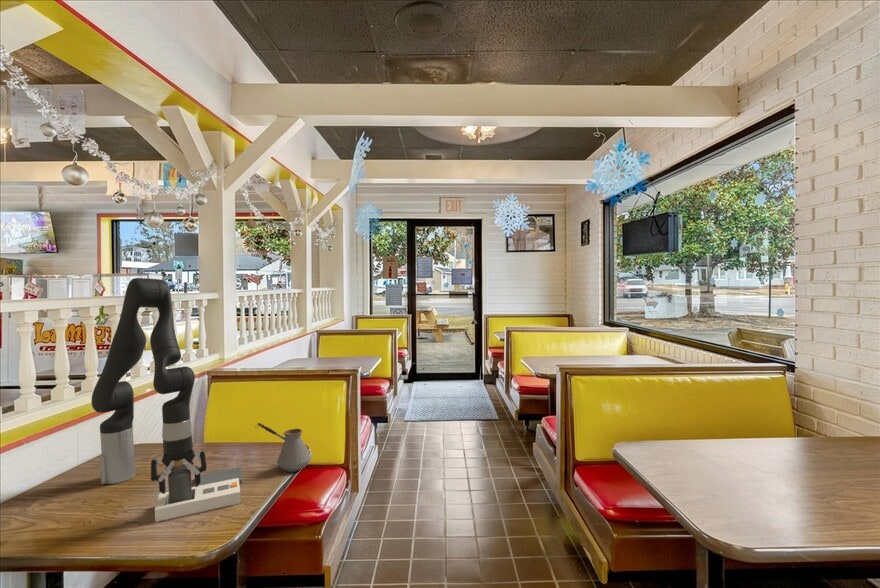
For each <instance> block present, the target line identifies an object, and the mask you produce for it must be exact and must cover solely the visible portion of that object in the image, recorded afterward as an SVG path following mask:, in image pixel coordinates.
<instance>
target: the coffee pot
mask: <svg viewBox="0 0 880 588" xmlns="http://www.w3.org/2000/svg"><path fill="white" fill-rule="evenodd" d="M259 427H261V428H262V429H264V430H265V431H267V432H268V433H270V434H273V435H275V436H277V437H278V438H280V439H281V440H284V442H283V445H282V447H281V450H280V453H279V456H278V459H277V460H276V461H277V462H276V463H277V466H278V467H279V468H280V469H282V470H283V471H285V472H289V473H291V472H297V471H301V470H304V469H305V468H306V466H307V465H308V464H309V463H310V462H311V459H312V457H311V453H310V452H309V449H308V448H307V446H306V444H305V442H304V440H303V439H302V433H303V430H302V429H301V428H291V429H288V430H287V429H286V430H285V431H284V432H283V435H284V436H283V435H281V434H279V433H278V432H276V431H275V430H273V429H272V428H270V427H268V426H265V425H264V424H262V423H261V422H257V423H256V425H255V428H256V429H258V428H259Z"/></svg>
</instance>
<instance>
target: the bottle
mask: <svg viewBox="0 0 880 588" xmlns="http://www.w3.org/2000/svg"><path fill="white" fill-rule="evenodd" d="M170 462H171V461H170ZM182 462H183V460H181V459H180V460H176V461H174V462H173V463H174V466H173V467H172V468H171V470H170V471H169V473H168V474H167V475H168V476H167V479H168V481H167V483H168V492H169V502H170V504H173V503H177V502H182V501H187V500H192V487H193V486H192V473H191V472H192V471H191V470H190V469H189V468H188V467H186V466H185V465H184V464H183V463H182Z"/></svg>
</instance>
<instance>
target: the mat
mask: <svg viewBox="0 0 880 588" xmlns="http://www.w3.org/2000/svg"><path fill="white" fill-rule="evenodd" d="M235 478H239V485H241V484H240V483H242V484H243V476H242V468H241V466H239V467H233V468H228V469H223V470H217V471H212V472H207V473H206V472H205V473H203V474H202V473H200V479H201V482H200V484H199V485H198V486H200V485H205V484H210V483H215V482H220V481H225V480H230V479H235ZM193 487H195V485H193Z"/></svg>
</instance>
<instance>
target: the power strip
mask: <svg viewBox="0 0 880 588" xmlns="http://www.w3.org/2000/svg"><path fill="white" fill-rule="evenodd" d="M240 485H241V484H239V478H235V479H230V480H225V481H220V482H215V483H210V484H205V485H200V486H198V487H194V486H191V487H192V500H187V501H182V502H177V503H173V504H170V502H169V491H166V492H165V493H164V494H162V492H160V493H159V495H158V496H157V497H158V498H157V500H156V503H155V508H154V517H155V518H154V520H155V523H157V522H163V521H167V520H170V519H175V518H179V517H185V516H189V515H193V514H198V513H203V512H207V511H212V510H216V509H221V508H225V507H229V506H234V505H238V504H239V505H240V504H241V501H242V500H241V487H240Z"/></svg>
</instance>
